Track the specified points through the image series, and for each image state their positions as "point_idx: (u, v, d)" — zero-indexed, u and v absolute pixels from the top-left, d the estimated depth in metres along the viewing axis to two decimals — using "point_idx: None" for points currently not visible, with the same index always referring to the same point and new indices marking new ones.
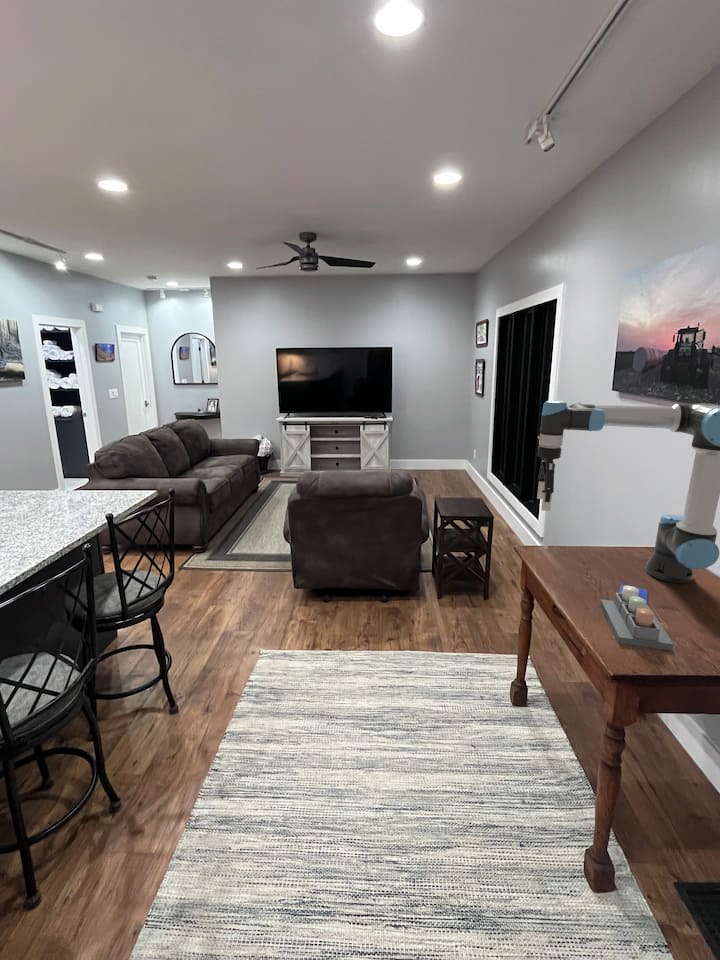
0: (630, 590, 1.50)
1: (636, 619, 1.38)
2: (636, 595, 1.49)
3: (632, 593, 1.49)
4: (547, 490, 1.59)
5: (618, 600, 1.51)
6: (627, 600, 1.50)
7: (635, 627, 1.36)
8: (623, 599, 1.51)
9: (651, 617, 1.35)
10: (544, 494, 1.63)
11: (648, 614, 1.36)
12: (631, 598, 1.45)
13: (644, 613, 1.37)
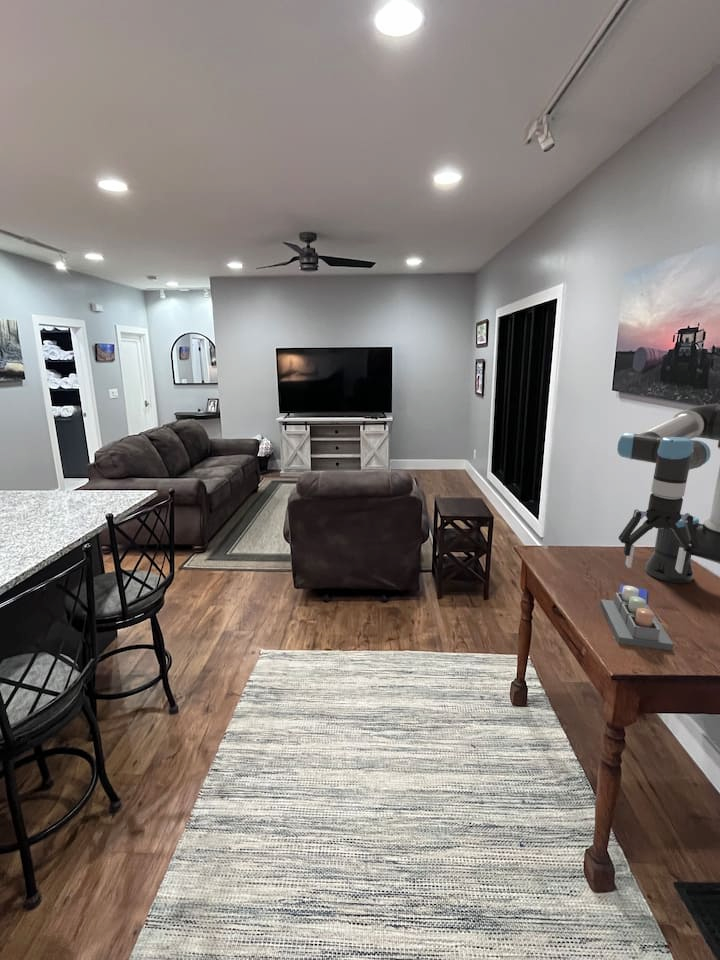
0: (630, 590, 1.50)
1: (636, 619, 1.38)
2: (636, 595, 1.49)
3: (632, 593, 1.49)
4: (619, 537, 1.34)
5: (618, 600, 1.51)
6: (627, 600, 1.50)
7: (635, 627, 1.36)
8: (623, 599, 1.51)
9: (651, 617, 1.35)
10: None
11: (648, 614, 1.36)
12: (631, 598, 1.45)
13: (644, 613, 1.37)
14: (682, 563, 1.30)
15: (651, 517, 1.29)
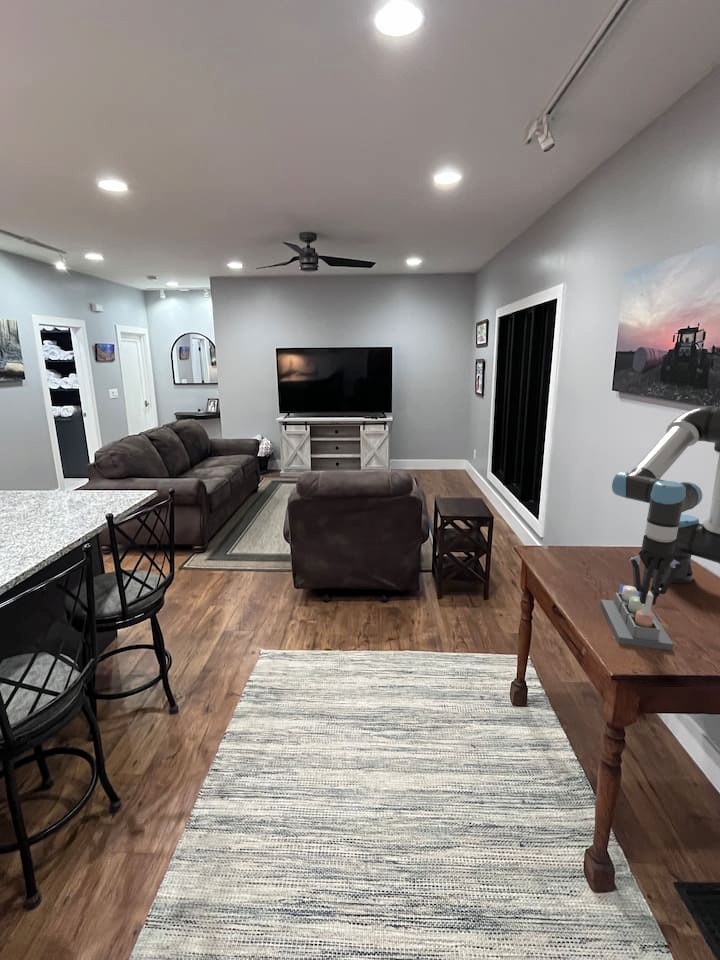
0: (630, 590, 1.50)
1: (635, 621, 1.38)
2: (636, 595, 1.49)
3: (632, 593, 1.49)
4: (635, 585, 1.37)
5: (618, 600, 1.51)
6: (627, 600, 1.50)
7: (635, 627, 1.36)
8: (623, 599, 1.51)
9: (651, 619, 1.36)
10: None
11: (648, 616, 1.36)
12: (631, 598, 1.45)
13: None
14: (650, 606, 1.35)
15: (646, 558, 1.32)
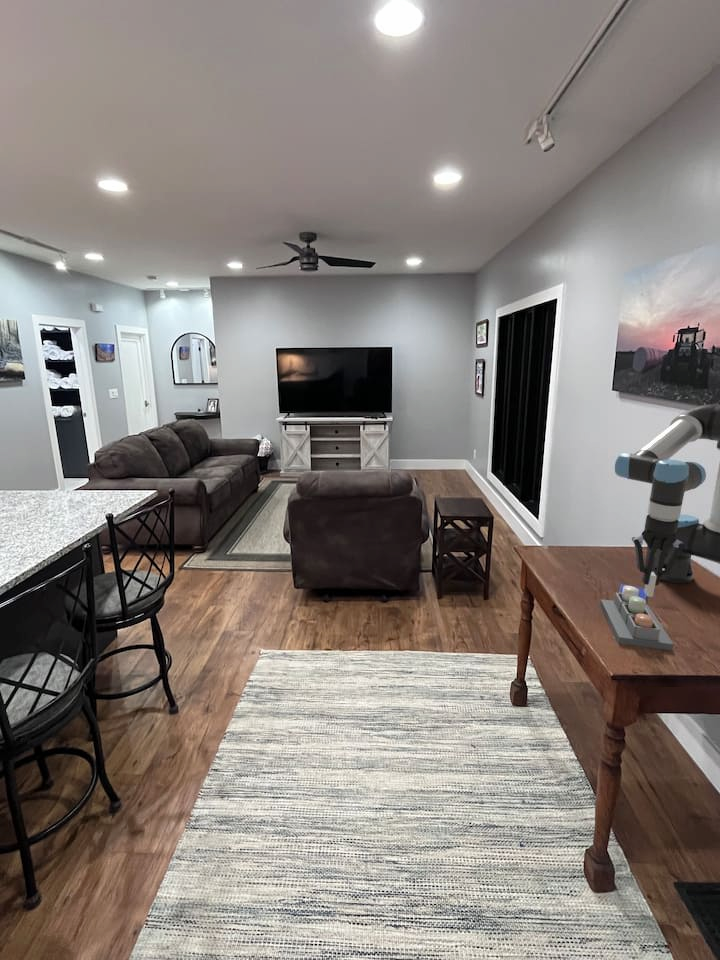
0: (630, 590, 1.50)
1: (635, 624, 1.39)
2: (636, 595, 1.49)
3: (632, 593, 1.49)
4: (638, 566, 1.36)
5: (618, 600, 1.51)
6: (627, 600, 1.50)
7: (635, 627, 1.36)
8: (623, 599, 1.51)
9: (650, 623, 1.36)
10: None
11: (647, 620, 1.37)
12: (631, 598, 1.45)
13: (643, 619, 1.37)
14: (653, 587, 1.34)
15: (649, 538, 1.31)
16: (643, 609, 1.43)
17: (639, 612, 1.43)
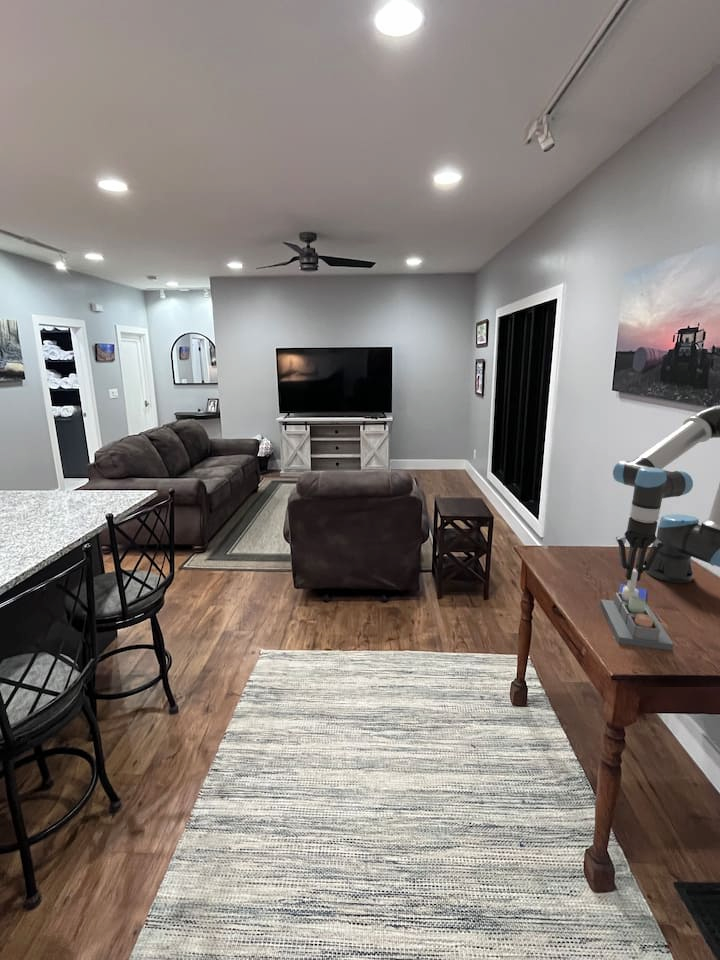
0: (630, 591, 1.50)
1: (635, 624, 1.39)
2: (636, 596, 1.49)
3: (631, 594, 1.49)
4: (621, 563, 1.50)
5: (618, 600, 1.51)
6: (627, 601, 1.50)
7: (635, 627, 1.36)
8: (623, 600, 1.51)
9: (650, 623, 1.36)
10: None
11: (647, 620, 1.37)
12: (631, 598, 1.45)
13: (643, 619, 1.37)
14: (635, 582, 1.48)
15: (631, 538, 1.45)
16: (643, 609, 1.43)
17: (639, 612, 1.43)
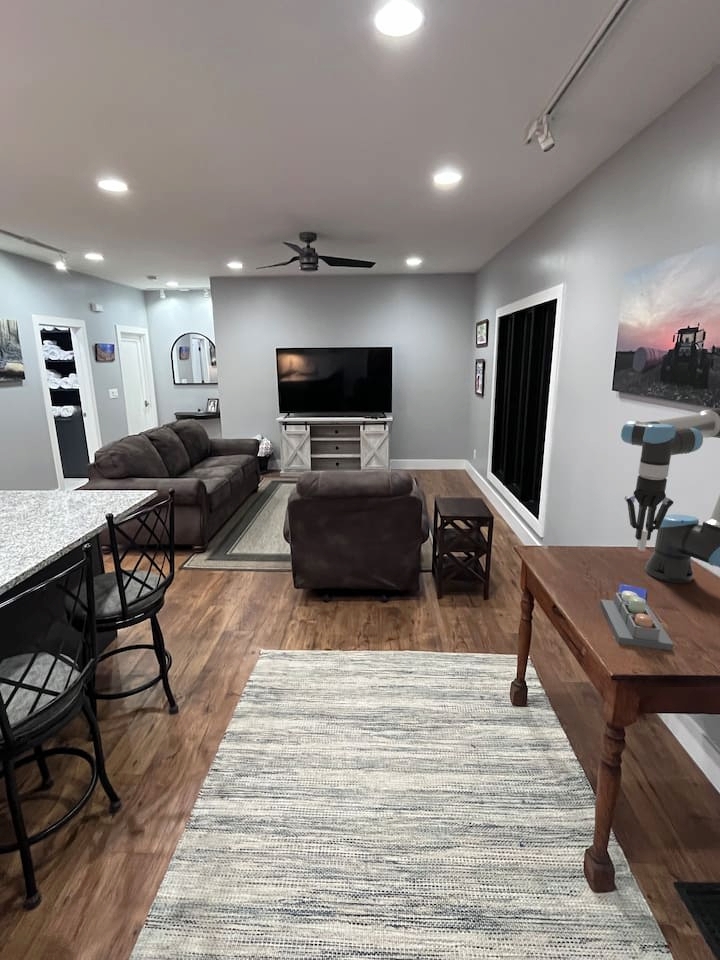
0: (630, 595, 1.50)
1: (635, 624, 1.39)
2: None
3: None
4: (631, 523, 1.48)
5: (618, 600, 1.51)
6: None
7: (635, 627, 1.36)
8: None
9: (650, 623, 1.36)
10: None
11: (647, 620, 1.37)
12: (631, 598, 1.45)
13: (643, 619, 1.37)
14: (645, 542, 1.46)
15: (640, 496, 1.43)
16: (643, 609, 1.43)
17: (639, 612, 1.43)
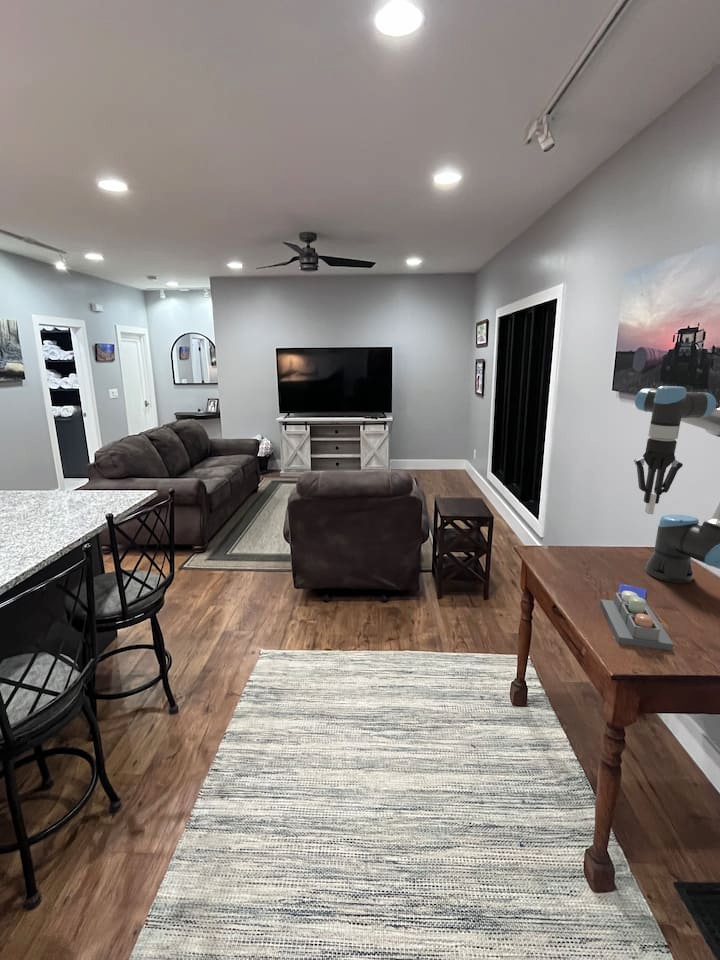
0: (630, 595, 1.50)
1: (635, 624, 1.39)
2: None
3: None
4: (639, 486, 1.49)
5: (618, 600, 1.51)
6: None
7: (635, 627, 1.36)
8: None
9: (650, 623, 1.36)
10: None
11: (647, 620, 1.37)
12: (631, 598, 1.45)
13: (643, 619, 1.37)
14: (653, 505, 1.47)
15: (649, 458, 1.44)
16: (643, 609, 1.43)
17: (639, 612, 1.43)
